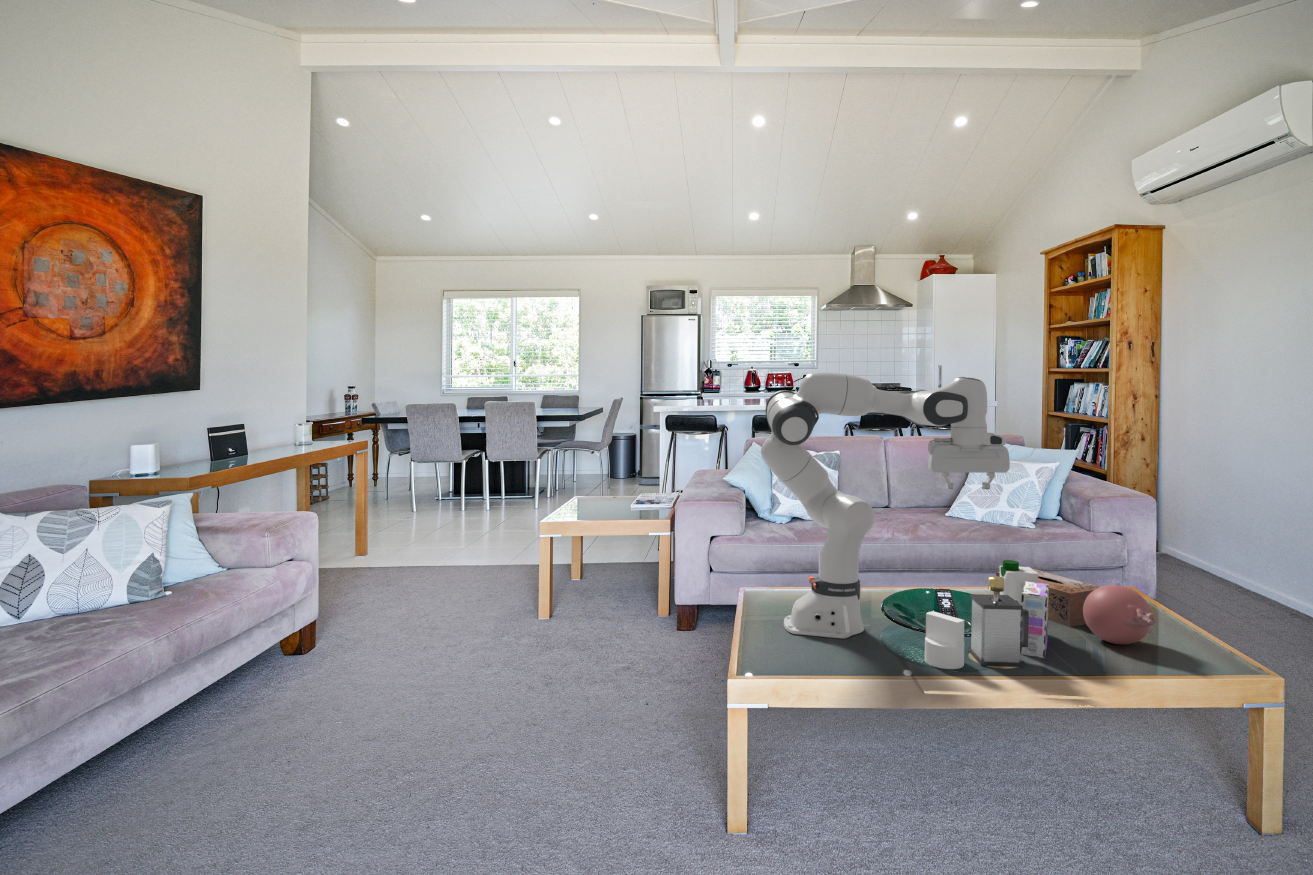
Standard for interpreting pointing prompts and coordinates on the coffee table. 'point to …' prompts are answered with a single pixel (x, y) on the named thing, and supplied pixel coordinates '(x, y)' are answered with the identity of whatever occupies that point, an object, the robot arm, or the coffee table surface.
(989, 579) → the plunger
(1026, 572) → the milk carton
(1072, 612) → the tissue box cover
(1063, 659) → the coffee table surface
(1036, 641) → the candy box
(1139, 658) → the coffee table surface
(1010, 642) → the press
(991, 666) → the trivet
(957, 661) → the cylinder with rectangular tab
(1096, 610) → the pink oval ball
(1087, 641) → the coffee table surface
